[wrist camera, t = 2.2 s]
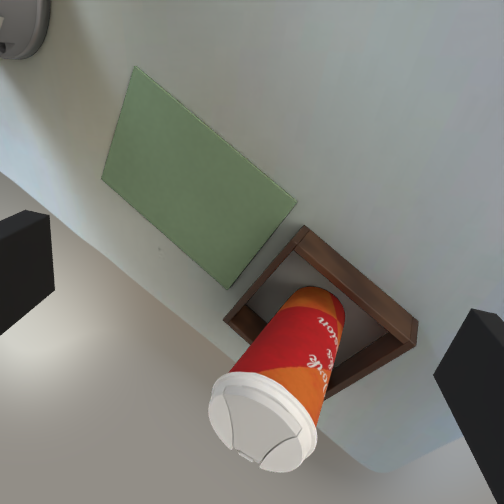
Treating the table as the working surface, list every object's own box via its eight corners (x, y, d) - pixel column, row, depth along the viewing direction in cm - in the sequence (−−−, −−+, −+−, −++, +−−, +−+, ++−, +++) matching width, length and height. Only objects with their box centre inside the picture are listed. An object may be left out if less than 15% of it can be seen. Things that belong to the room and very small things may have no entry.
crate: (237, 302, 40) (222, 320, 37) (304, 224, 32) (291, 239, 29) (326, 381, 39) (317, 405, 36) (418, 321, 31) (416, 346, 28)
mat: (103, 178, 41) (101, 178, 41) (136, 66, 32) (134, 65, 32) (228, 289, 39) (227, 290, 39) (297, 201, 31) (296, 202, 31)
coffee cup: (342, 356, 36) (293, 496, 24) (272, 323, 39) (197, 435, 27) (370, 295, 32) (327, 431, 20) (288, 262, 34) (207, 365, 22)
